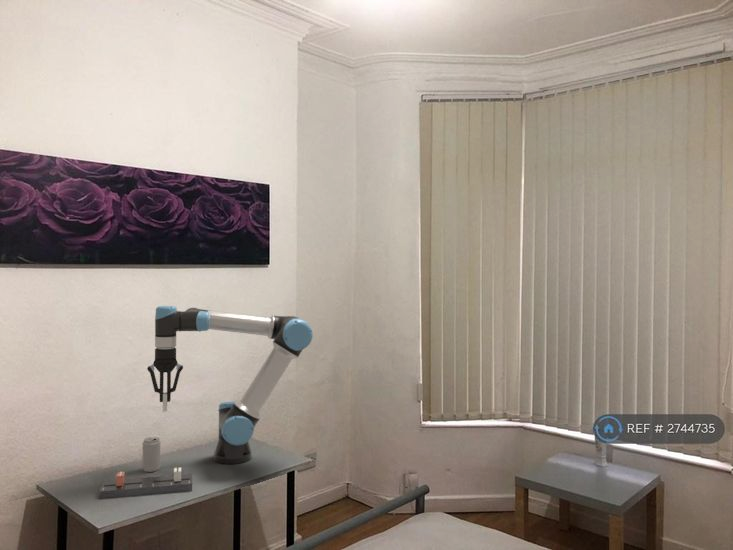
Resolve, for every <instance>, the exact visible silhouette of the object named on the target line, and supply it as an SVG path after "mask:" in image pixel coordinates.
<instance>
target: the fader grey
mask: <svg viewBox="0 0 733 550" xmlns="http://www.w3.org/2000/svg"><path fill="white" fill-rule="evenodd" d="M173 475H174V482H176V481H181V475H182V467H178V466H177V467H174V468H173Z"/></svg>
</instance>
